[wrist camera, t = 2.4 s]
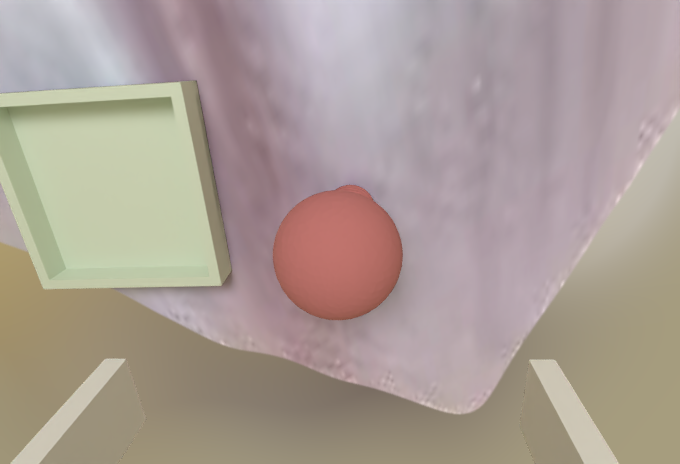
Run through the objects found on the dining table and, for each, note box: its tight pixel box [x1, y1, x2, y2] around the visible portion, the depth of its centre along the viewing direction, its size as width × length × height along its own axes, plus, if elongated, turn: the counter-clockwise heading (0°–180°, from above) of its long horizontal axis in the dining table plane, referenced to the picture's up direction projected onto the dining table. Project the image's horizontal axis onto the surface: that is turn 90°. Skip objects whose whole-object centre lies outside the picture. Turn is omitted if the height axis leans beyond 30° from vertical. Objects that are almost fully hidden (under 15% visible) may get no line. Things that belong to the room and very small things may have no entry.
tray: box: [0, 81, 232, 289], centre depth 30 cm, size 15×15×2 cm
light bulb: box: [273, 185, 403, 320], centre depth 25 cm, size 7×7×12 cm
